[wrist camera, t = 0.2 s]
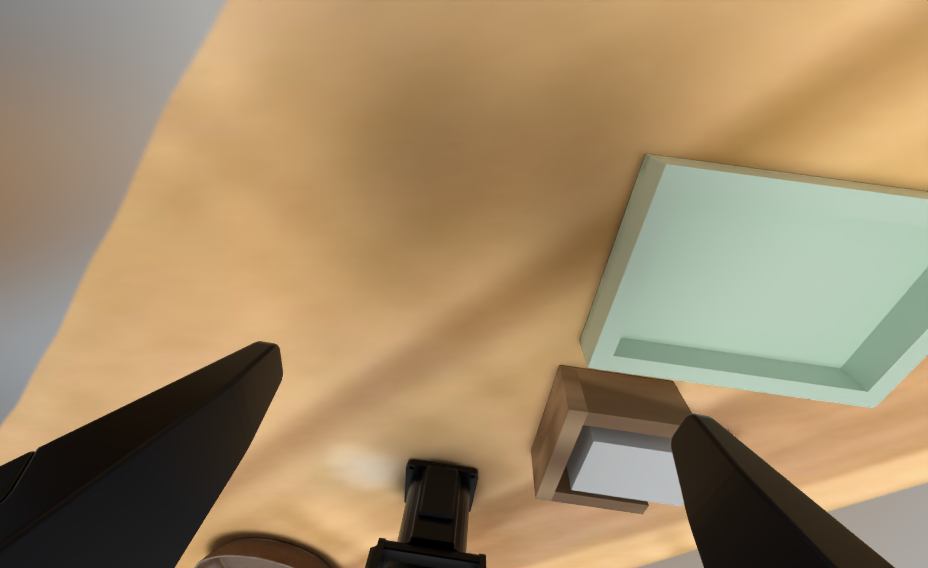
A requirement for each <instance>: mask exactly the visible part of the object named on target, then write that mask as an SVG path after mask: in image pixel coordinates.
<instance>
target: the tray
mask: <svg viewBox="0 0 928 568" xmlns="http://www.w3.org/2000/svg"><path fill="white" fill-rule="evenodd" d="M580 344H581V347H582V351H583V354H584V357H585V360H586V363H587V367H588V368H593V369H600V370H607V371H614V372H621V373H628V374H635V375H642V376H650V377H657V378H664V379H671V380H678V381H685V382H692V383H699V384H706V385H713V386H720V387H727V388H734V389H741V390H748V391H755V392H763V393H770V394H777V395H784V396H791V397H798V398H805V399H812V400H819V401H826V402H833V403H840V404H847V405H854V406H861V407H869V408H875V407H876V406H877V405H878V404H879V403H880V402H881V401H882V400H883V399H884V398H885V397H886V396H887V395H888V394H889V393H890V392H891V391H892V390H893V389H894V388H895V387H896V386H897V385H898V384H899V383H900V382H901V381H902V380H903V379H904V378H905V377H906V376H907V375H908V374H909V373H910V372H911V371H912V370H913V369H914V368H915V367H916V366H917V365H918V364H919V363H920V362H921V361H922V360H923V359H924V358H925V357H926V356H927V355H928V191H920V190H913V189H905V188H898V187H890V186H883V185H875V184H868V183H860V182H853V181H846V180H838V179H831V178H823V177H816V176H808V175H801V174H793V173H786V172H779V171H771V170H764V169H756V168H749V167H741V166H734V165H726V164H719V163H712V162H704V161H697V160H689V159H682V158H674V157H667V156H659V155H652V154H645V157H644V160H643V163H642V166H641V169H640V171H639V174H638V177H637V180H636V183H635V186H634V188H633V191H632V194H631V197H630V200H629V203H628V205H627V208H626V211H625V214H624V217H623V220H622V222H621V225H620V228H619V231H618V234H617V237H616V240H615V242H614V245H613V248H612V251H611V254H610V257H609V259H608V262H607V265H606V268H605V271H604V274H603V276H602V279H601V282H600V285H599V288H598V291H597V293H596V296H595V299H594V302H593V305H592V308H591V310H590V313H589V316H588V319H587V322H586V325H585V328H584V330H583V333H582V336H581V339H580Z"/></svg>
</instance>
